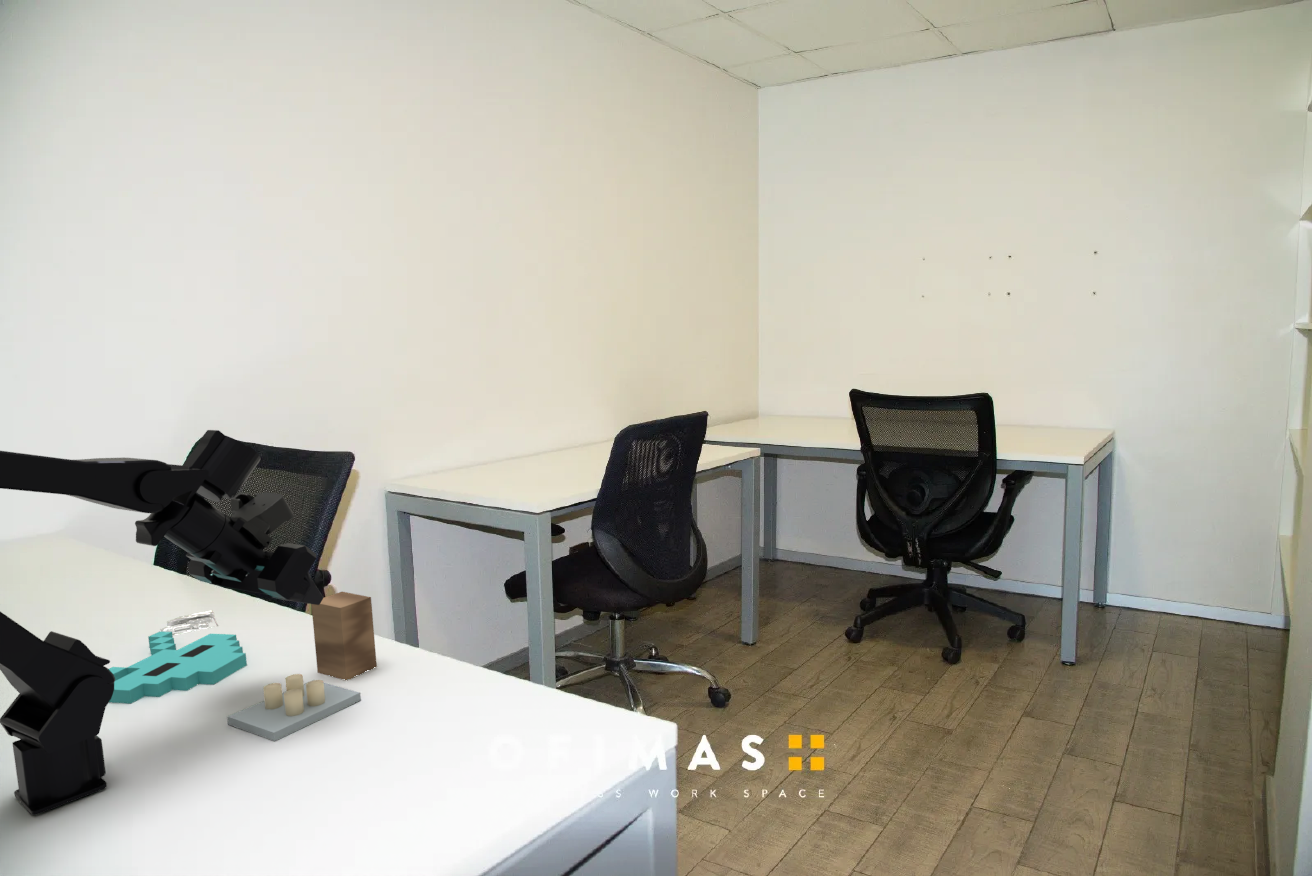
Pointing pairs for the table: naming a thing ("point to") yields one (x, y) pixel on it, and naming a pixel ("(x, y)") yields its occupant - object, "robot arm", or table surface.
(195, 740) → the table surface
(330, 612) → the walnut block
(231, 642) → the alien figure
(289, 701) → the peg stand
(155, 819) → the table surface
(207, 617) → the crumpled silver wrapper
